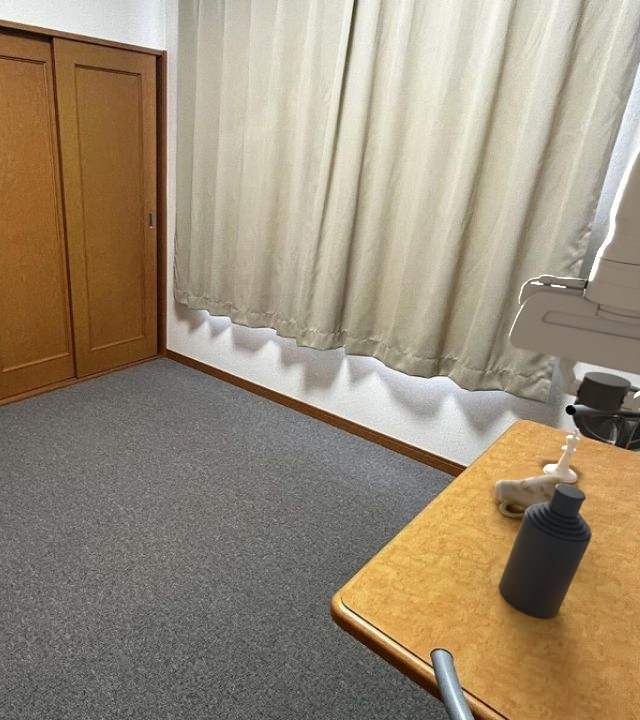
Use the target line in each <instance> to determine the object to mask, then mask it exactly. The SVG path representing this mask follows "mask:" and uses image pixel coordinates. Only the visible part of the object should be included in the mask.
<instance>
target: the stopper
mask: <svg viewBox="0 0 640 720" xmlns="http://www.w3.org/2000/svg"><path fill="white" fill-rule="evenodd" d="M581 380H582V382H581V386H580V389H579V391H578V395H577V397H576V396H575V402H578V404H580V405H582V406H583V407H586V408H589V409H591V410H595V411H599V412H606V413H618V412H620V411H621V410H622V409H621V408H620V407H621V404H622V403H623V399H624V396H625V395H626V394H628V391H630V389H631V386H632V382H631V381H630V380H628V379H627V378H625V377H622V376H620V375H618V374H612V373H609V372H602V371H587V372H585V373H584V375H583V377H582V379H581Z"/></svg>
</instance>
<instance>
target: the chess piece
mask: <svg viewBox="0 0 640 720" xmlns="http://www.w3.org/2000/svg"><path fill="white" fill-rule="evenodd" d="M579 433H580V429H579V428H577V427H575V429H574V431H573V432H572V434H571V435H570V434H569V435H566V437H565V440H566V445H563V446H562V447H561V450H562V451H563V454H562V456H561V457H560V459H559V461H558V462H557V463H555V464H554V463H550V464H546V465H545V466H544V467H543V473H544V475H557V476H561V477H562V479H563V484H574V483H576V482H577V479H578V474H577V473H576V472H575V471H574V470H572V469H571V468H570V462H571V457H572V454H573V455H574V454H577V452H578V451H577V449H576V447H577V446H578V444H580V443H581V438H579V437H578V434H579Z"/></svg>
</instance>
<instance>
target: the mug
mask: <svg viewBox="0 0 640 720" xmlns="http://www.w3.org/2000/svg"><path fill="white" fill-rule="evenodd" d="M558 484H564V482H563V479H562V477H561V476H557V475H546V474H539V475H535V476H531V477H527V478H523V479H522V478H521V479H499V480H498V481H496V483H495V485H494V496H495V498H496V499H497V500H498V501H499V502H500V504H499V507H498V511H499V512H500V513H501V514H502V515H504V516H506V517H508V518H512V519H523V517H524V514H525V512H521V513H514V512H513V513H512V512H510V511H508V510H507V507H508V506H517V507H521V508H523V509H525V510H527V509H528V508H529V507H530V506H532V505H534V504H539V503H544V502H549V501H550V500H551V498H552V495H553V492H554V490H555V489H554V488H555V486H556V485H558Z"/></svg>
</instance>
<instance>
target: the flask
mask: <svg viewBox="0 0 640 720" xmlns="http://www.w3.org/2000/svg"><path fill="white" fill-rule="evenodd" d="M554 489H555V490H554V492H553V495H552V498H551V500H550V501H549V502H544V503H539V504H534V505H532V506H530V507H529V508H528V509H525V511H524V513H525V514H524V517H523V518H522V520H521V522H520V525H519V528H518V531H517V534H516V537H515V539H514V541H513V545H512V547H511V550H510V552H509V556H508V559H507V561H506V564H505V567H504V569H503V573H502V576H501V578H500V580H499V582H498V589H499V592H500V594H501V596H502V597H503V599H504V600H505V601H506V602H507V603H508V604H509V605H510V606H512V607H513V608H514V609H516V610H517V611H519V612H521V613H523V614H525V615H527V616H530V617H531V618H532V617H533V618H537V619H540V620H541V619H542V620H550V619H552V618H555V617H556V616H557V615H558V614H559V612H560V609H561V607H562V605H563V603H564V600H565V598H566V596H567V593H568V591H569V589H570V586H571V584H572V582H573V580H574V578H575V575H576V573H577V571H578V570H579V569H578V568H579V566H580V565H581V562H582V560H583V558H584V555H585V553H586V550H587V549H588V547H589V544H590V542H591V540H592V536H593V535H592V534H593V533H592V531H591V527H590V525H589V523H587V521H586V520H585V518H584V517H583V516H582V514H581V513H580V510H581V508H582V505H583V504H584V501H586V498H587V497H586V494H585V492H583V490H581V489H580V488H578V487H576V486H574V485H570V484H568V483H563V484H558V485H556V486H555V488H554Z"/></svg>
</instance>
